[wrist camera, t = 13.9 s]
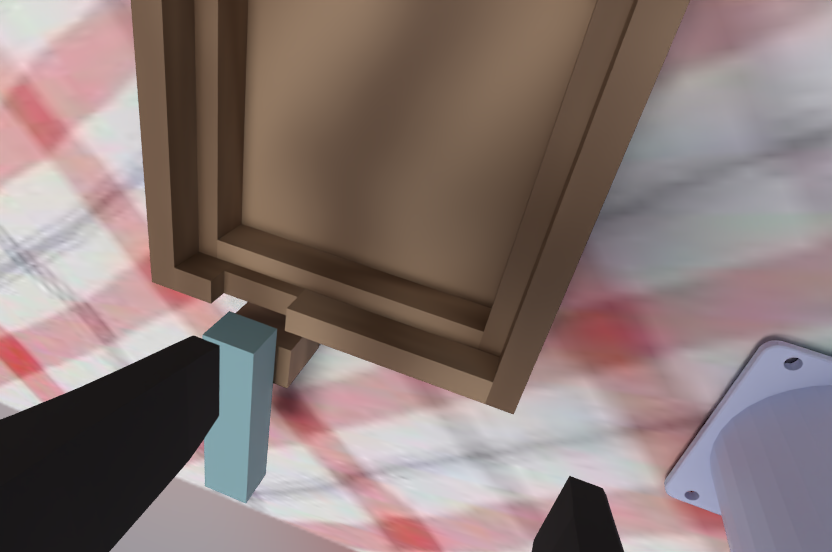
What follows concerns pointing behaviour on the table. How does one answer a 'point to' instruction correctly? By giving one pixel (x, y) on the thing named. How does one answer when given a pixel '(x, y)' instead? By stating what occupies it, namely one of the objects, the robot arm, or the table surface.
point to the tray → (390, 167)
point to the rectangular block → (241, 406)
